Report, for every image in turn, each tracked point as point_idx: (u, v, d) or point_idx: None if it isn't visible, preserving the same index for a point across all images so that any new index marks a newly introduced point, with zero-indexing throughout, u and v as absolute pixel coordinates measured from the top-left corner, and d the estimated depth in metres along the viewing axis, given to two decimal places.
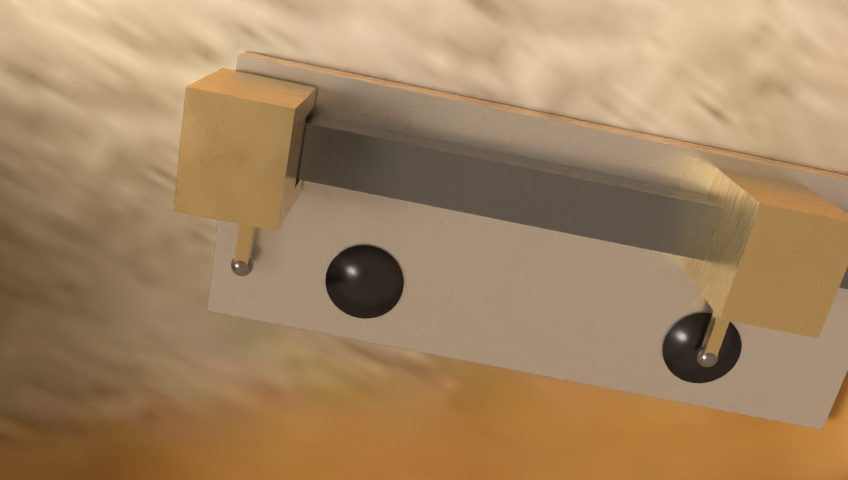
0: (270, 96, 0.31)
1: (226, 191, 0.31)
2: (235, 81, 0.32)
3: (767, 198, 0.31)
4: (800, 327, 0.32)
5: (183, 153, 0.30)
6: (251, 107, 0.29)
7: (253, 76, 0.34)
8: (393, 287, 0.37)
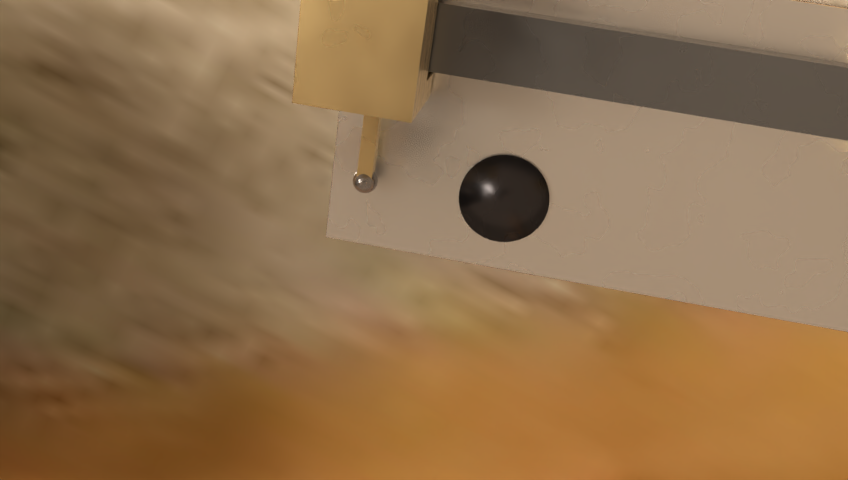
0: None
1: (352, 76, 0.26)
2: None
3: None
4: None
5: (302, 32, 0.26)
6: None
7: None
8: (537, 204, 0.32)
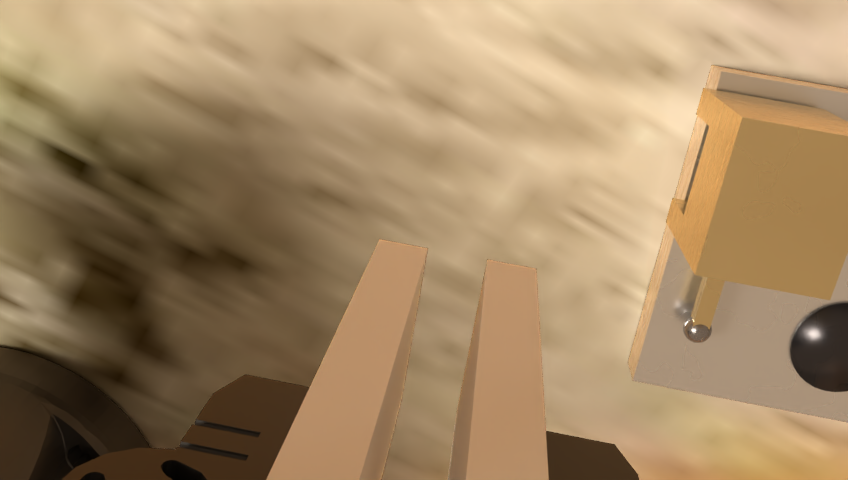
0: (829, 125, 0.23)
1: (770, 250, 0.24)
2: (754, 106, 0.25)
3: None
4: None
5: (722, 202, 0.23)
6: (828, 142, 0.22)
7: (749, 97, 0.27)
8: None
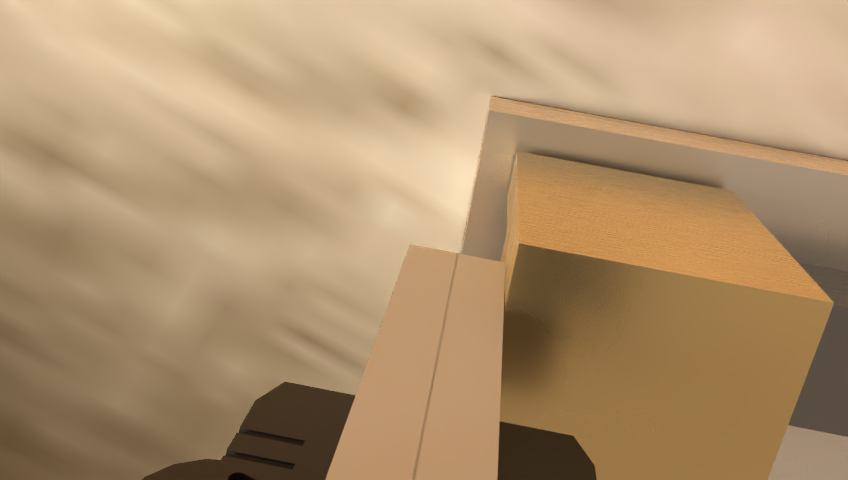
0: (717, 250, 0.11)
1: None
2: (586, 196, 0.13)
3: None
4: None
5: None
6: (704, 297, 0.10)
7: (594, 170, 0.15)
8: None
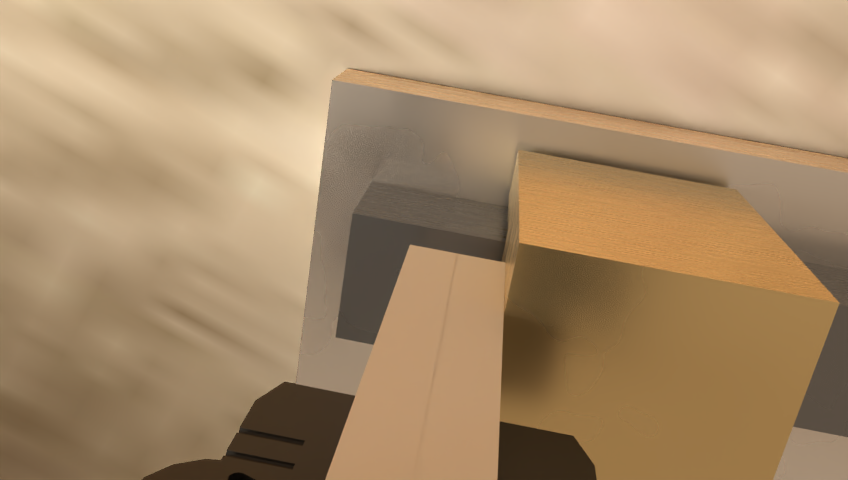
0: (721, 249, 0.11)
1: None
2: (588, 195, 0.13)
3: None
4: None
5: None
6: (707, 298, 0.10)
7: (596, 169, 0.14)
8: None
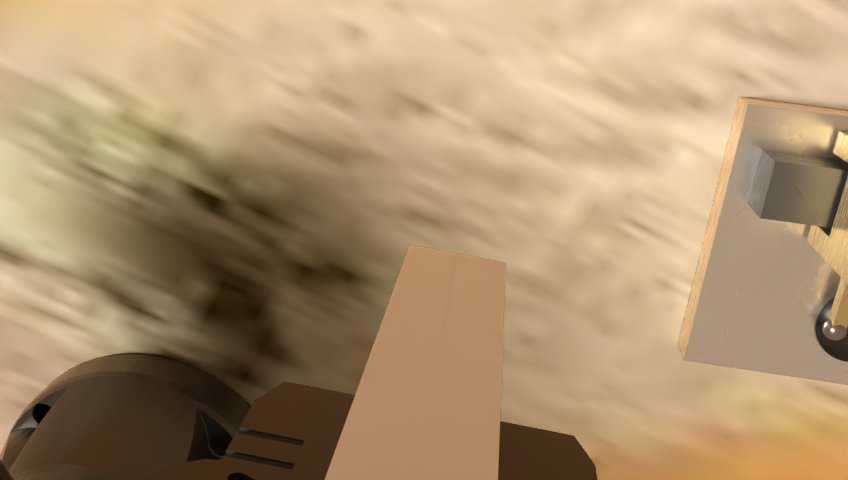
0: None
1: None
2: None
3: None
4: None
5: None
6: None
7: None
8: None
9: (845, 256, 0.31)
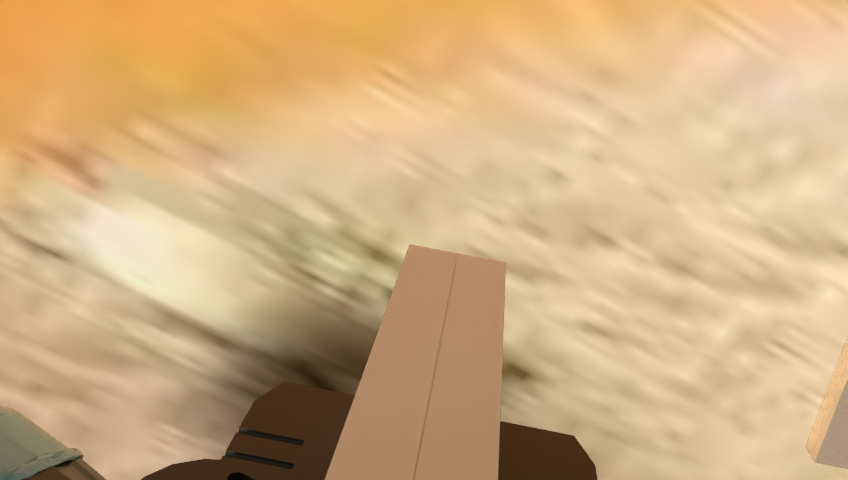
0: None
1: None
2: None
3: None
4: None
5: None
6: None
7: None
8: None
9: None
